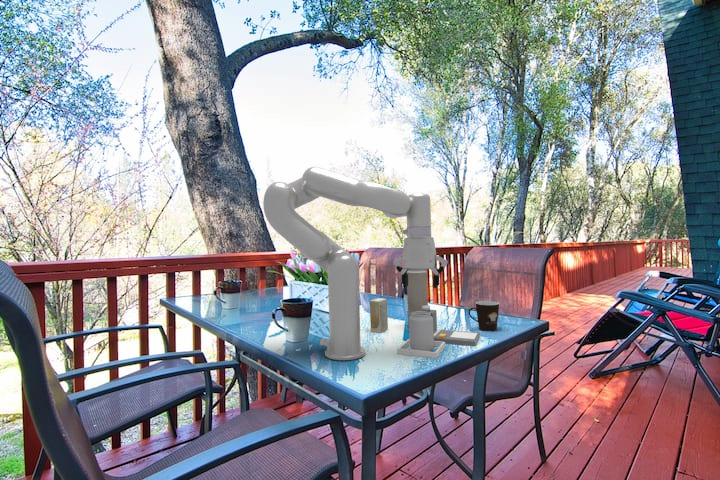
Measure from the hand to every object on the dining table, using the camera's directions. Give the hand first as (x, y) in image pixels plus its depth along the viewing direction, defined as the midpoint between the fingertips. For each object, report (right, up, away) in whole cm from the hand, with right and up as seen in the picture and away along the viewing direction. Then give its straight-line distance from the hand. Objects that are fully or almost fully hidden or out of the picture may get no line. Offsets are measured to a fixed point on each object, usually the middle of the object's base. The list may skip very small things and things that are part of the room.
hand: (420, 287), depth 118 cm
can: (0, -20, 0) cm, 20 cm away
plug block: (+5, -18, +16) cm, 24 cm away
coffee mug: (+28, -19, +25) cm, 42 cm away
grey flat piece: (+11, -20, +13) cm, 26 cm away
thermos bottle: (+4, -20, +29) cm, 36 cm away
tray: (0, -20, 0) cm, 20 cm away
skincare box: (-12, -21, +26) cm, 35 cm away
